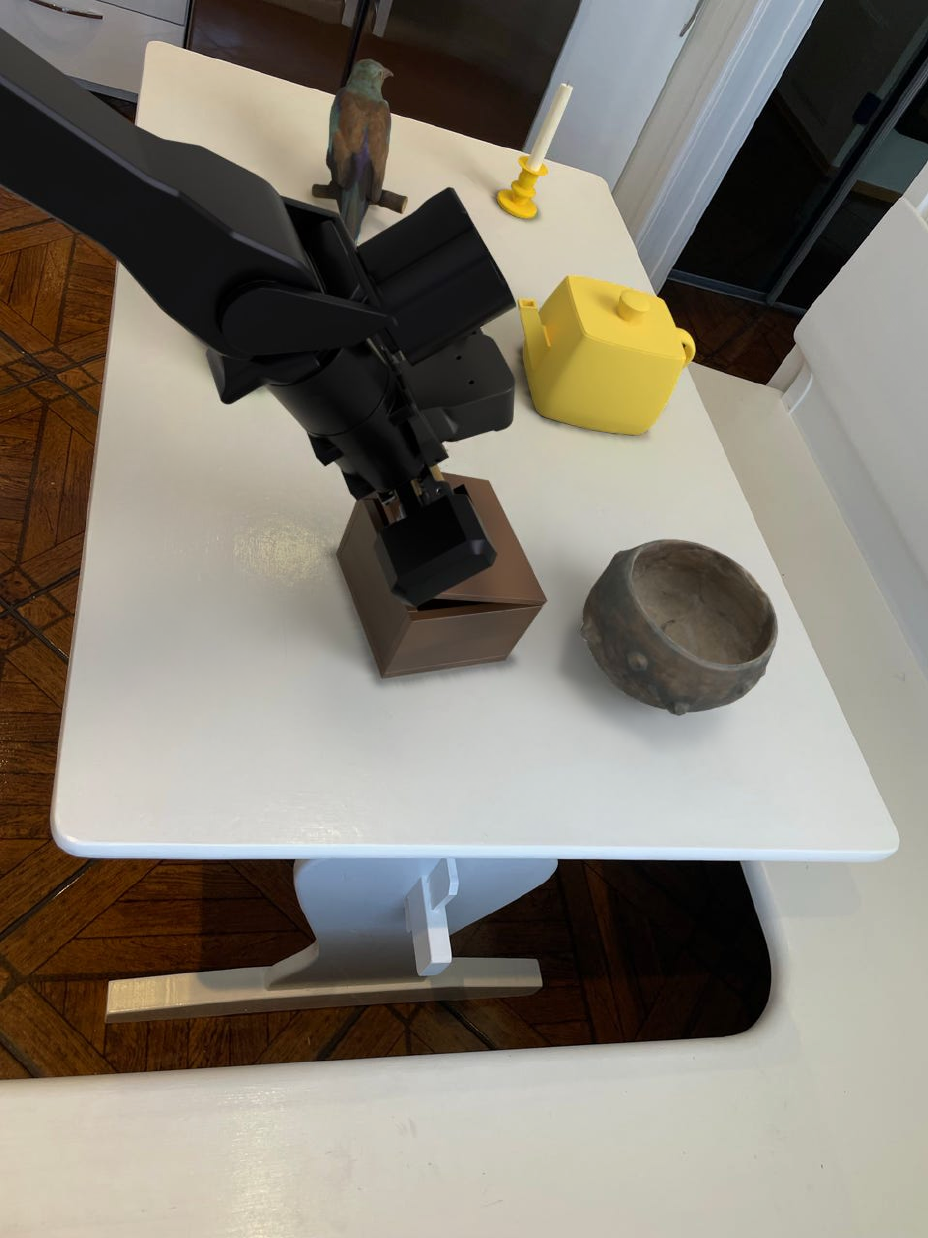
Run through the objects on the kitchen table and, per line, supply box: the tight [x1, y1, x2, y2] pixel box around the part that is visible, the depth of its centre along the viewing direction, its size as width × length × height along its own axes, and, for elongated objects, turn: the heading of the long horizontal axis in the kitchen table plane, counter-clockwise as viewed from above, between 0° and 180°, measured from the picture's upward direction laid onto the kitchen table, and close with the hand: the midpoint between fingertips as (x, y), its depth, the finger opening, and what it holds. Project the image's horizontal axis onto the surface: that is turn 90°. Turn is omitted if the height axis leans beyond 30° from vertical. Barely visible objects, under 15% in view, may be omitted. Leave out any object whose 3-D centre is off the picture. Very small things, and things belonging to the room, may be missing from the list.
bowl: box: [579, 538, 779, 717], centre depth 73 cm, size 14×15×10 cm
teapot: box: [517, 274, 696, 436], centre depth 92 cm, size 20×12×12 cm, turn 98°
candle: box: [496, 80, 574, 219], centre depth 110 cm, size 5×5×16 cm
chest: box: [335, 491, 544, 680], centre depth 70 cm, size 11×12×7 cm
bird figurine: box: [311, 58, 409, 246], centre depth 97 cm, size 13×10×20 cm
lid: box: [382, 464, 548, 606], centre depth 64 cm, size 11×12×4 cm
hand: (443, 518), depth 63 cm, fingers closed on lid, 5 cm apart
